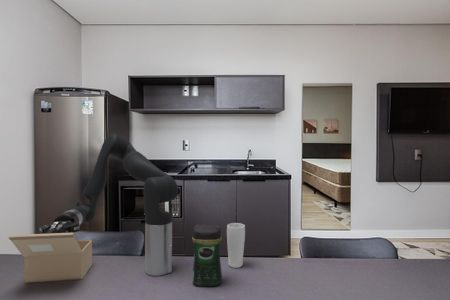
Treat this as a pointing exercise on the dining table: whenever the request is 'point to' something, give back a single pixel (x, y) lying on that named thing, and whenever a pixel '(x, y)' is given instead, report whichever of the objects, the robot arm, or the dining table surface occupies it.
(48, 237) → the lid
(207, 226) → the coffee jar
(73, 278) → the mailer box
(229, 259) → the drinking glass
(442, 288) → the dining table surface
